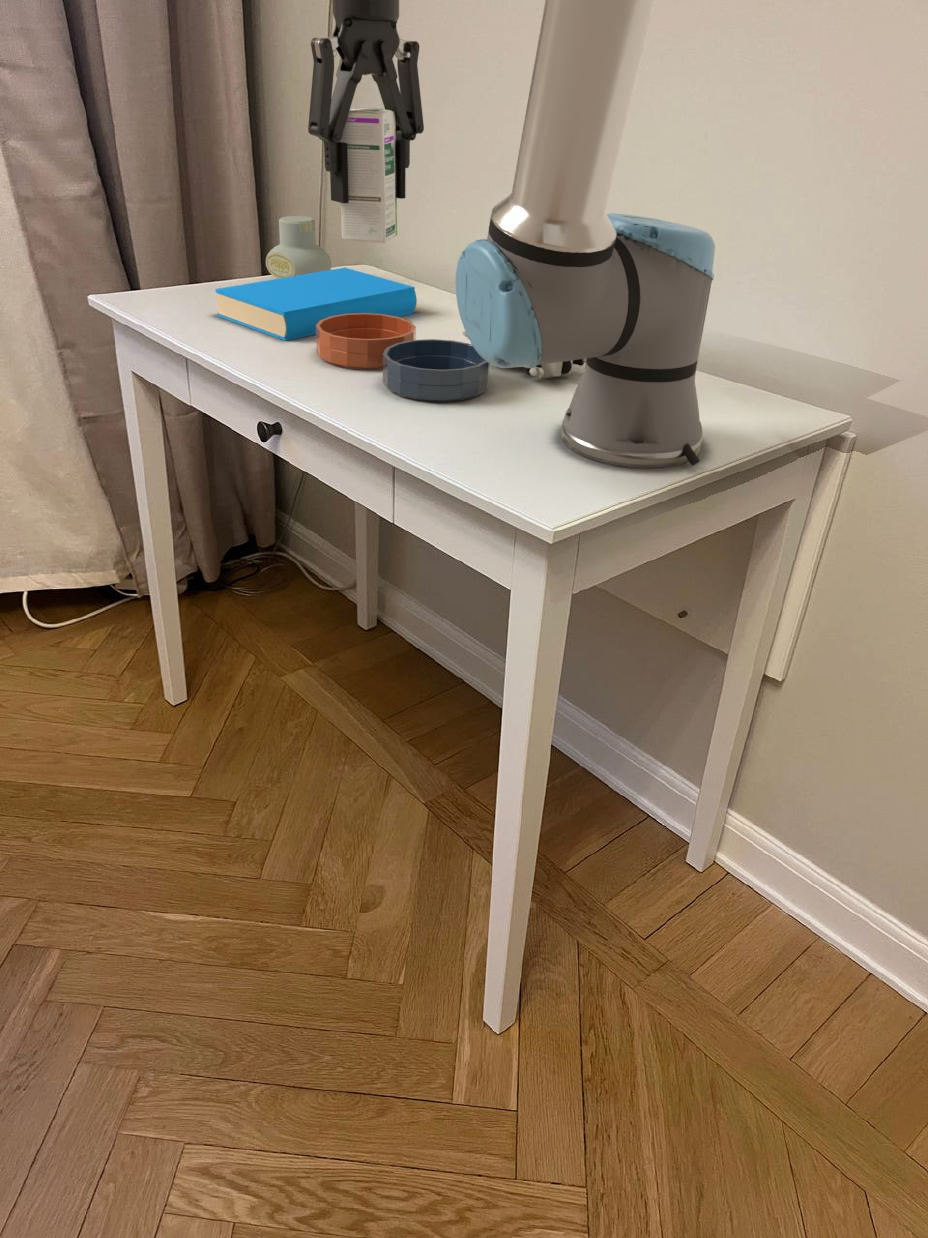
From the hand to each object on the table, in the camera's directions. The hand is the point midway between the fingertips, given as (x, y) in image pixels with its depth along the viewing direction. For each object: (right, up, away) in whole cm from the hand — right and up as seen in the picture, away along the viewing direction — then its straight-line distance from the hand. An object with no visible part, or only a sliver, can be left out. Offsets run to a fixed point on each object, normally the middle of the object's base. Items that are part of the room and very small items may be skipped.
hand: (368, 198), depth 122 cm
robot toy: (+20, -19, +9) cm, 29 cm away
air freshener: (-16, +5, +46) cm, 49 cm away
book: (-10, -6, +28) cm, 30 cm away
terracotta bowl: (-1, -16, +11) cm, 20 cm away
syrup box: (0, -4, +2) cm, 5 cm away
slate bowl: (+8, -23, +1) cm, 24 cm away
